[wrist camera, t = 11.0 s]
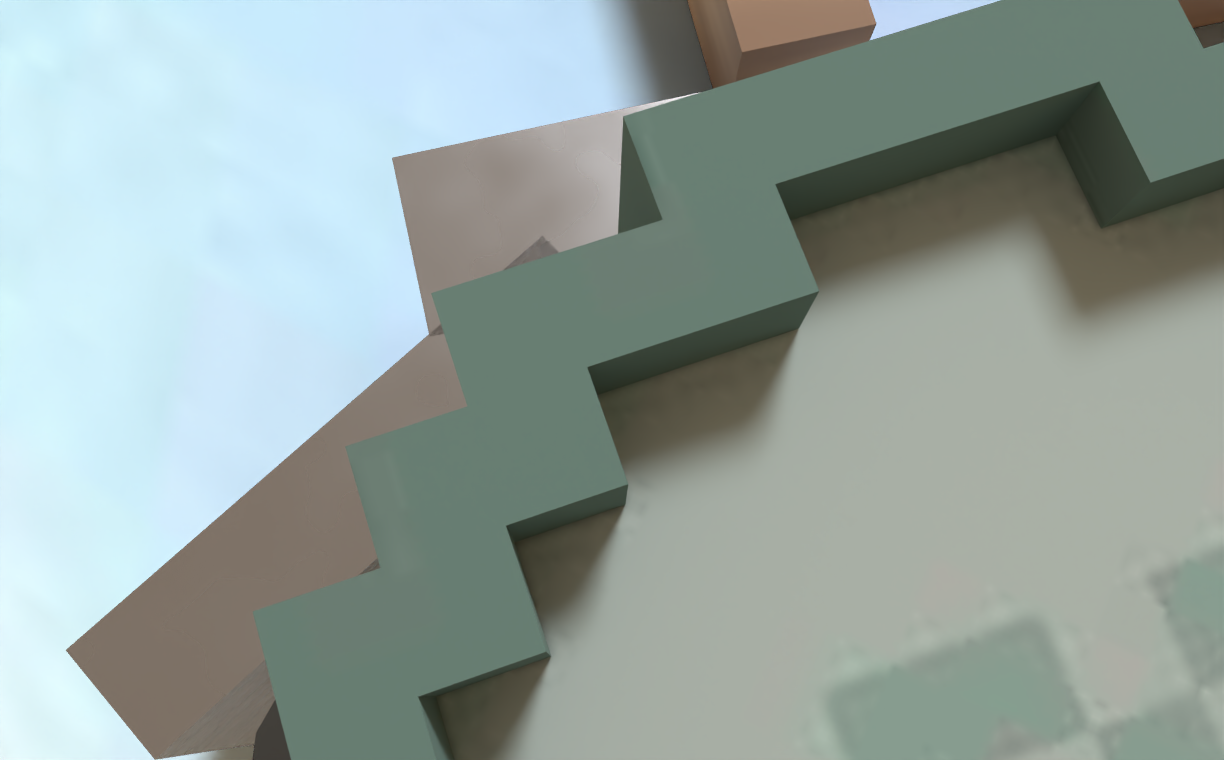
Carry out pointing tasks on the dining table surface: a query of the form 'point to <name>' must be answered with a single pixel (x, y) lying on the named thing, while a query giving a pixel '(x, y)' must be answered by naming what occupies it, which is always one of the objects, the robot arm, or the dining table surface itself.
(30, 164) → the dining table surface
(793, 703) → the can
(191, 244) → the dining table surface
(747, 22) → the wooden bar pair
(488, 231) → the v cradle
